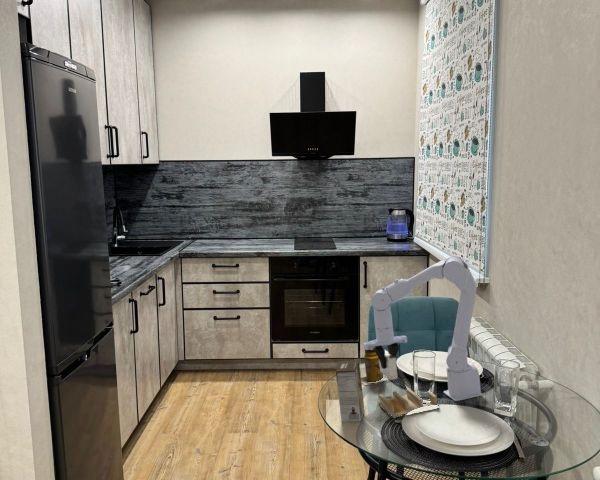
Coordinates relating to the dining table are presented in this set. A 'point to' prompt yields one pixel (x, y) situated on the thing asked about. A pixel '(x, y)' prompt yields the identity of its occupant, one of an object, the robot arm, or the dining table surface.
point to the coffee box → (350, 390)
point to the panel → (389, 366)
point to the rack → (404, 402)
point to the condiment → (371, 367)
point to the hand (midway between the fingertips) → (387, 366)
